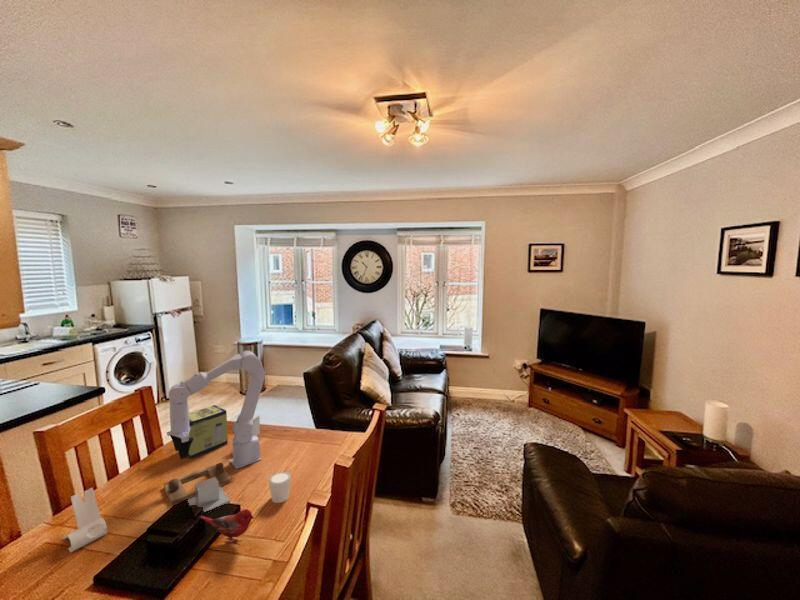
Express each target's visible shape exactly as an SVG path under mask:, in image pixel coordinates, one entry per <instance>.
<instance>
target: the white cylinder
mask: <svg viewBox="0 0 800 600" xmlns="http://www.w3.org/2000/svg"><path fill="white" fill-rule="evenodd" d="M268 483H269V484H268V485H269V490H270V491H269V492H270V498H271V499H270V500H271V501H272V503H274V504H280V503H283V502H286V501H287V500H288V499H289V497H290V488H291V487H290V486H291V474H290V472H287V471H280V472H276V473H273V474H272V475H271V476H270V477H269V479H268Z"/></svg>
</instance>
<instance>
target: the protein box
mask: <svg viewBox="0 0 800 600" xmlns="http://www.w3.org/2000/svg"><path fill="white" fill-rule="evenodd" d="M227 413H228V411H227V410H226V409H223V408H221V407H220V406H217V405H216V404H213V405H210V406H207V407H203V408H200V409H198V410H195V411H194V410H193V411H191V412H189V426H190V432H189V435H188V436H189V438H191V437H193V441H192V443H191V445H190V449H189V454H188V457H187V458H188V459H192V460H193V459H194V458H196V457H199V456H201V455H203V454H206V452H207V453H208V452H211V451H213V450H214V451H215V450H216V449H218V447H219V448H220V446H221V447H223V446H226V445H228V444H229V440H228V439H229V438H228V437H229V436H228V419H227V418H228V417H227ZM227 443H228V444H227ZM225 444H226V445H225Z"/></svg>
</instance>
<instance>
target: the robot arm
mask: <svg viewBox="0 0 800 600" xmlns="http://www.w3.org/2000/svg"><path fill="white" fill-rule="evenodd" d="M242 369H243V370H245V371H246V372H248V373H249V374H250V379H249V384H248V386H247V390H246V393H245V397H244V401H243V404H242V407H241V409H240V413H239V415H238V416H237V419H236V421H235V422H234V424H232V428H231V431H232V433H233V435H234V437H233V439H232V457H233V458H232V459H229V462H230V463H231V465H232V466H233V467H234V468H235V469H236V470H237V469H240V468H243V467H245V466H248V465H251V464H253V463H256V462H258V461H261V459H262V458H261V450H260V449H261V448H260V447H261V445H260V441H259V439H258V437H257V436H253V432H252V427H253V416H254V415H255V412H256V409H257V406H258V402H259V398H260V395H261V392H262V388H263V385H264V381H265V377H266V371H265V369H264V366H263V362H262V361H261V360H260V358H259V357H258V356H257V355H256V354H255V353H254V352H253V351H252V350H244V351H242V352H240V353H237V354H235V355H234V356H232V357H230V358H229V359H227V360H225V361H224V362H222V363H220V364H219V365H217V366H216V367H213V368H212V369H210V370H209V371H207V372H202V371H200V372H199V373H198V372H195V373H193V376H191V377H189V378H187V379H186V380H185V381H183V380H181V381H180V382H179V383H176V384H174V385H172V386H171V387H170V389H169V391H168V399H169V421H170V430H169V431H168V432H166V435H167V436H170V438H171V441H172V443H173V446H174V447H173V448H174V451H175V452H178V455H179V459H180V460H184V459H186V458H189V457H188V454H189V449H190V445H191V443H192V441H193V437H191V438H189V436H188V435H189V432H190V426H189V413H190V409H189V402H188V399H189V397H190V396H193V395H195V394H196V393H198V392H200V391H201V390H203V389H204V388H205V389H206V387H208V386H209V385H210V384H211V381H212V380H215V379H217V378H218V377H220V376H223V375H224V374H227V373H228V372H230V371H232V370H234V371H242Z"/></svg>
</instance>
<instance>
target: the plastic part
mask: <svg viewBox="0 0 800 600" xmlns="http://www.w3.org/2000/svg"><path fill="white" fill-rule="evenodd" d="M83 493H84V502H83V500H82V498H81V495H80V494H79V493H76V494H74V495H72V496H70V500H71V505H72V509H73V513H74V517H75V522H76V526H77V529H76V530H75V531H74V530H73V529H70V533H68V534H65V536H64V537H62V538H61V540H66V539H69V542H70V546H69V547H68V551H69V552H70V553H73V552H74V551H76V550H78V549H80V548H83V547H84V546H86V545H89V544H90V543H92V542H94V541H95V540H98V539H99V538H101V537H104V536H105V535H107V534H108V526H107V522H106V521H105V519H104V518H102V517H101V516H102V515H101V513H100V510H99V509H100V508H99V505H98V501H97V499H96V494H95V492H94V487H90V488H89V489H86V490H85V491H84V492H83Z"/></svg>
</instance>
